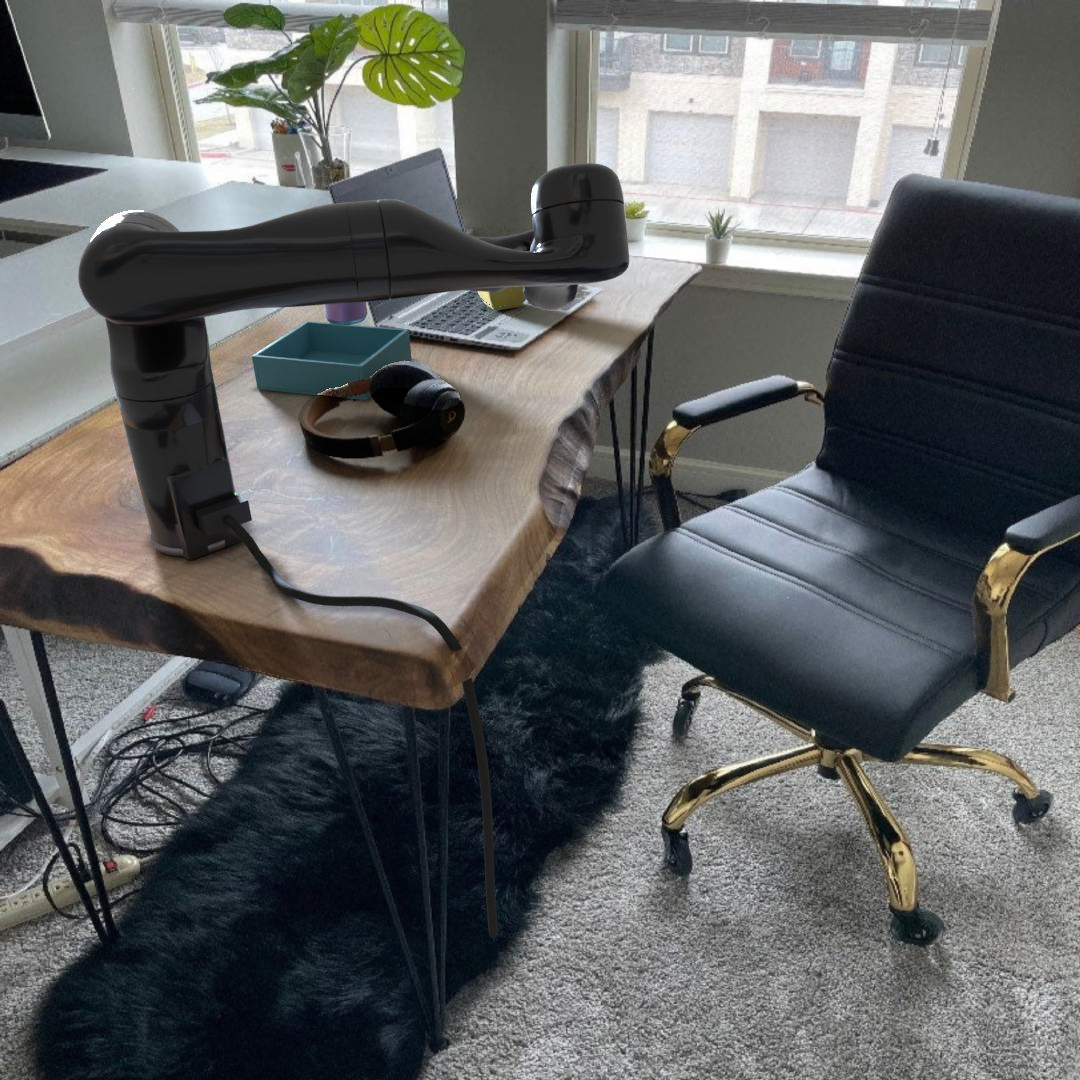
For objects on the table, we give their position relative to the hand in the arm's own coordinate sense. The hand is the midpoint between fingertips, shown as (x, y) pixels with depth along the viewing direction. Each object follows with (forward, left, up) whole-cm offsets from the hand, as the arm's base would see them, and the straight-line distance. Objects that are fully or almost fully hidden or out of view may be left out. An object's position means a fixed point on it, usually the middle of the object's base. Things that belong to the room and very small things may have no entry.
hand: (322, 255), depth 138 cm
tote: (0, 0, -18) cm, 18 cm away
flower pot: (+9, -39, -18) cm, 44 cm away
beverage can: (-2, -1, -9) cm, 10 cm away
